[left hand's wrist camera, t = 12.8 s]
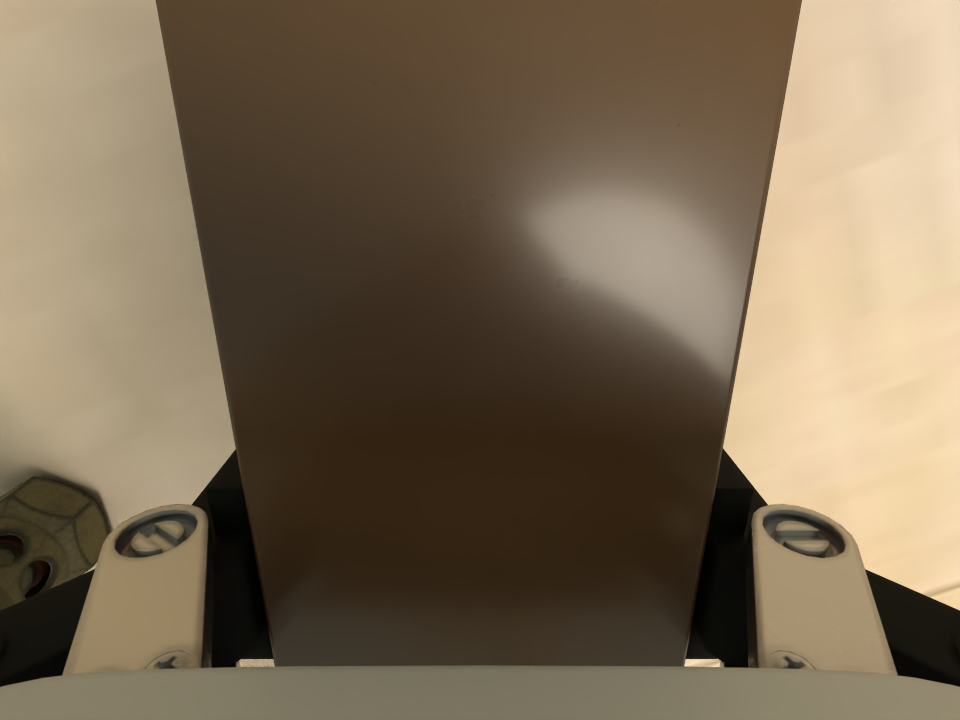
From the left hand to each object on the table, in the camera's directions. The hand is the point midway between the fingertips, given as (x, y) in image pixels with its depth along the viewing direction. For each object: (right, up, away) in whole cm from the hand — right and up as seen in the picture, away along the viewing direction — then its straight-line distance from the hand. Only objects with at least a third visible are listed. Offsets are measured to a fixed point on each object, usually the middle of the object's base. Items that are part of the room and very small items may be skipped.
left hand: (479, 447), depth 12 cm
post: (0, +19, -6) cm, 20 cm away
